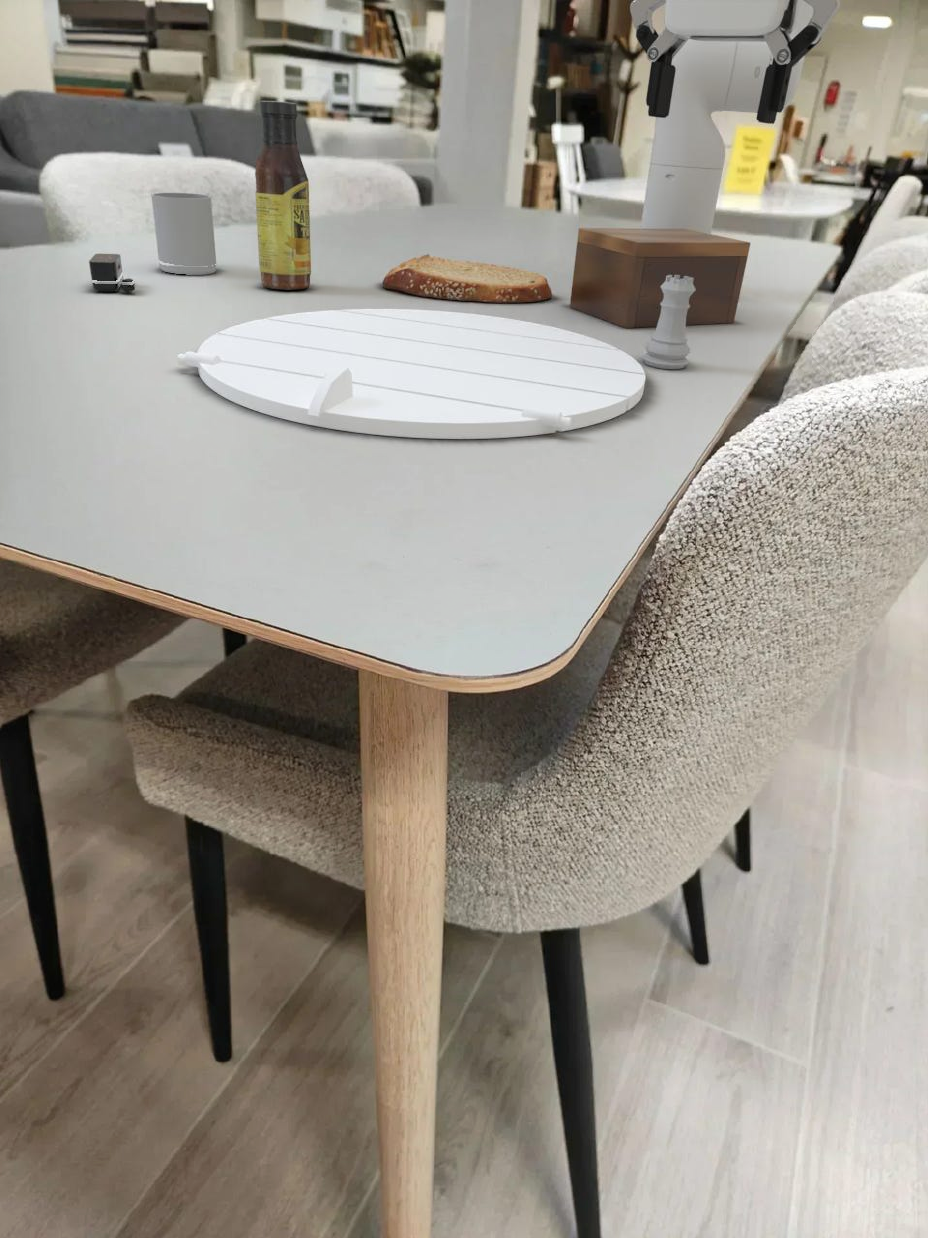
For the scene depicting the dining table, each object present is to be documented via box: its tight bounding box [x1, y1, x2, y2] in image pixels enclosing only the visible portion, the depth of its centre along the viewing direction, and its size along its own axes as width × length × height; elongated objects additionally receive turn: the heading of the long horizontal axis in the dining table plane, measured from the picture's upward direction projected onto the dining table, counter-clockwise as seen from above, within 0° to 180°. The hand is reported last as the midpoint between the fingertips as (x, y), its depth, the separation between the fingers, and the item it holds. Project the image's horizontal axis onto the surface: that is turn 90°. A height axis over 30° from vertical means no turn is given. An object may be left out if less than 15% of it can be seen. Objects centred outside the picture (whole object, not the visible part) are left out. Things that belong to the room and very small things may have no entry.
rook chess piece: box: [642, 275, 696, 370], centre depth 82 cm, size 4×4×8 cm
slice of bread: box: [381, 253, 553, 304], centre depth 110 cm, size 18×18×4 cm
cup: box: [150, 192, 217, 276], centre depth 112 cm, size 7×10×9 cm
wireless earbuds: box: [88, 253, 136, 293], centre depth 99 cm, size 5×7×3 cm, turn 13°
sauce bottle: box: [254, 100, 312, 291], centre depth 102 cm, size 6×6×20 cm
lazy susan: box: [176, 308, 647, 440], centre depth 76 cm, size 40×39×3 cm
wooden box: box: [569, 227, 751, 329], centre depth 103 cm, size 12×16×9 cm
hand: (710, 119), depth 74 cm, fingers open, 9 cm apart
